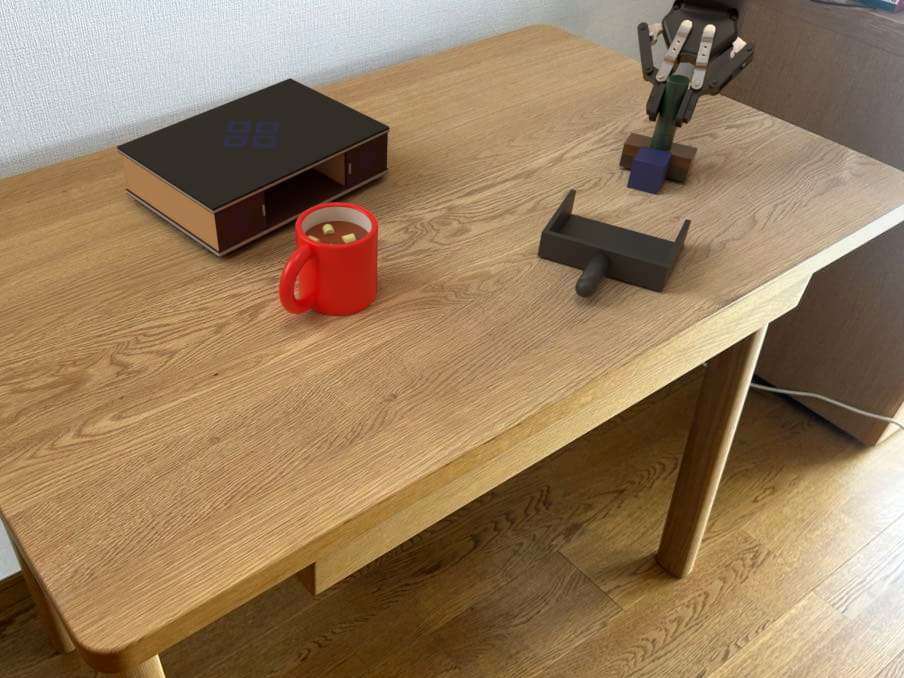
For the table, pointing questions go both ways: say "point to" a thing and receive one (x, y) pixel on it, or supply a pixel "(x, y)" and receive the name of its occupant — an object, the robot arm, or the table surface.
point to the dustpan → (608, 250)
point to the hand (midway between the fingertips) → (665, 121)
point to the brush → (665, 133)
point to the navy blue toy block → (649, 170)
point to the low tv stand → (254, 163)
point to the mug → (332, 261)
